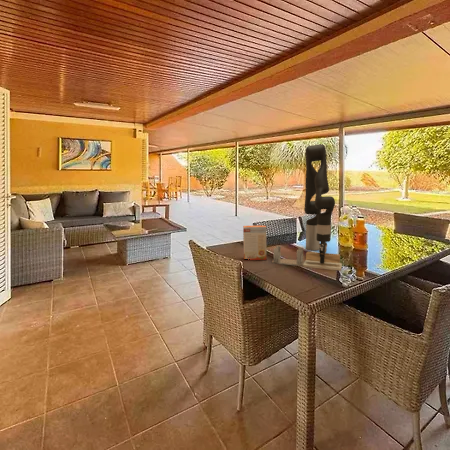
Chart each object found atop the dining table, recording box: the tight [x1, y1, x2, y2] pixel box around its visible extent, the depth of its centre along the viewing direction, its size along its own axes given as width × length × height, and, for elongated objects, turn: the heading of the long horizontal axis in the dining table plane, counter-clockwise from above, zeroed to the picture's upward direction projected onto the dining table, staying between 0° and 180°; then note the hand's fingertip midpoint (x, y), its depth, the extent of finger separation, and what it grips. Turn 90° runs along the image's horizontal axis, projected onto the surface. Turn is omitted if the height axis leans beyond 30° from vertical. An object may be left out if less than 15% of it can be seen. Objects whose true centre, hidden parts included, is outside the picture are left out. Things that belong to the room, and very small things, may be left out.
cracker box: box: [242, 225, 267, 261], centre depth 185 cm, size 14×6×21 cm, turn 86°
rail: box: [305, 251, 341, 263], centre depth 169 cm, size 4×18×4 cm, turn 66°
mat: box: [302, 259, 343, 271], centre depth 170 cm, size 10×20×1 cm, turn 66°
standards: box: [271, 245, 306, 267], centre depth 177 cm, size 8×18×9 cm, turn 66°
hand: (322, 261), depth 170 cm, fingers closed on rail, 4 cm apart
